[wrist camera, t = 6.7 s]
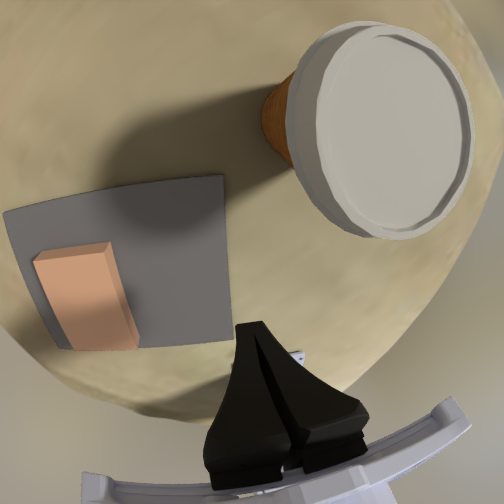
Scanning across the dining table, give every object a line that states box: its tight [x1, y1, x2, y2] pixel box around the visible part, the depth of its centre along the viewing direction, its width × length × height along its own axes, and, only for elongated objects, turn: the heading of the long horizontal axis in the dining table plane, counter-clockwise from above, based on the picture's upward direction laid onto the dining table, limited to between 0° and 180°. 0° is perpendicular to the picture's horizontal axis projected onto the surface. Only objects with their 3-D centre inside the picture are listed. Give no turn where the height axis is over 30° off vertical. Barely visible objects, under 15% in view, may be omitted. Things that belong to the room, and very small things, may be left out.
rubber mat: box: [2, 174, 234, 349], centre depth 21 cm, size 16×20×1 cm
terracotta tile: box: [33, 242, 140, 351], centre depth 20 cm, size 10×2×7 cm
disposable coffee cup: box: [261, 21, 475, 241], centre depth 13 cm, size 10×10×12 cm
